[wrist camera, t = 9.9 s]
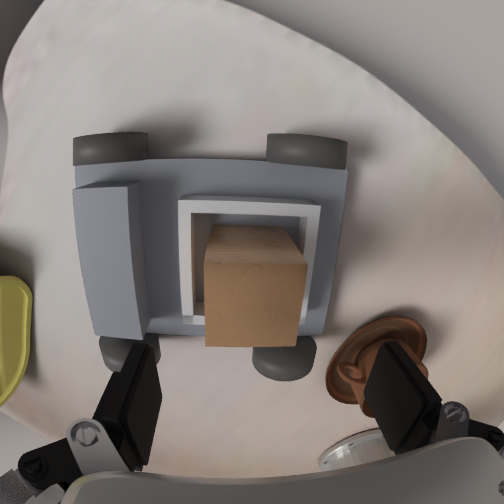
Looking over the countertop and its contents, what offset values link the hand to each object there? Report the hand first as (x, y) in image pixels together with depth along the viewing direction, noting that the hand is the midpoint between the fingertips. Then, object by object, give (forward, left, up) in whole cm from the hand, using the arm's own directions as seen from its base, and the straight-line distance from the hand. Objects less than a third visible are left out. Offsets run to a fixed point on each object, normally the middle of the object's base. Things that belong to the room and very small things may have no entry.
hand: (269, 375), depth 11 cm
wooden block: (0, -1, -11) cm, 11 cm away
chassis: (+3, -1, -13) cm, 13 cm away
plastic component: (+31, +9, -13) cm, 35 cm away
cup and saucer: (-14, +11, -13) cm, 22 cm away
